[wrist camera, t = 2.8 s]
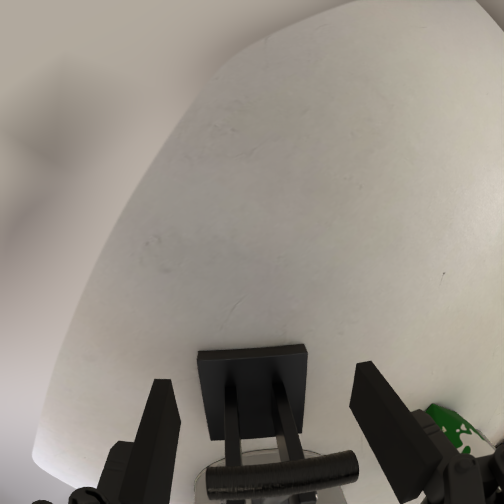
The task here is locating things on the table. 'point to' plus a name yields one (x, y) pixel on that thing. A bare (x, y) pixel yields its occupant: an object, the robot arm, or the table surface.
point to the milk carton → (460, 432)
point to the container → (328, 499)
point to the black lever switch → (256, 401)
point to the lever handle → (281, 478)
